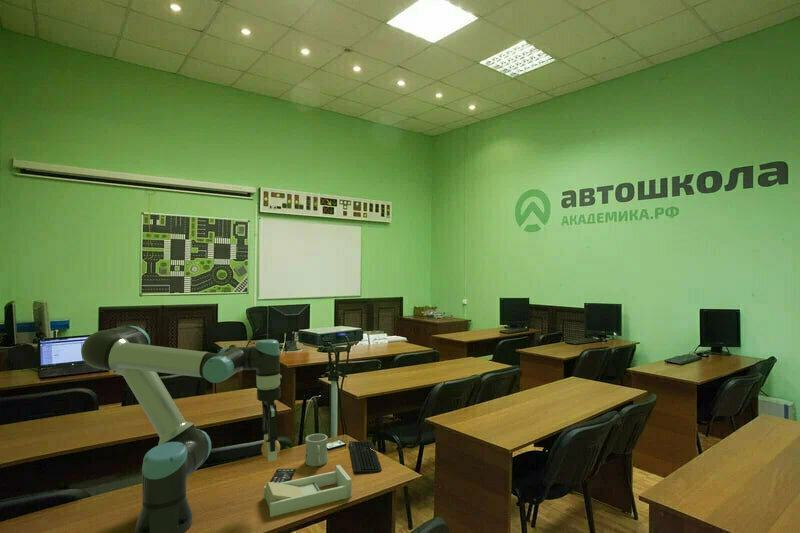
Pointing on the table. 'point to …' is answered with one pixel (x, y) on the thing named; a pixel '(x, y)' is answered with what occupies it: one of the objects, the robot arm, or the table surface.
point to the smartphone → (283, 475)
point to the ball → (265, 448)
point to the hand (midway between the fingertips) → (270, 456)
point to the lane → (307, 492)
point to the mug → (316, 449)
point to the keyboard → (364, 457)
